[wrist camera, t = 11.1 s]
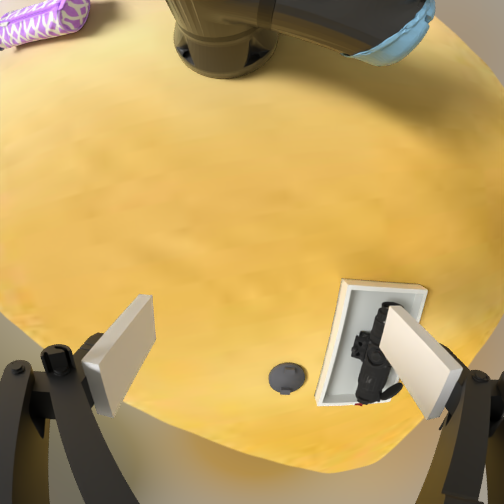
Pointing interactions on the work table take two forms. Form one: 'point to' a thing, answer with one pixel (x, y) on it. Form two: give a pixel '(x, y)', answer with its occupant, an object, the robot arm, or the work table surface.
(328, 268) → the work table surface
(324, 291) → the work table surface
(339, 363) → the tray
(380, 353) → the night vision scope
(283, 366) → the lens cap
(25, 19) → the pencil case
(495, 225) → the work table surface
